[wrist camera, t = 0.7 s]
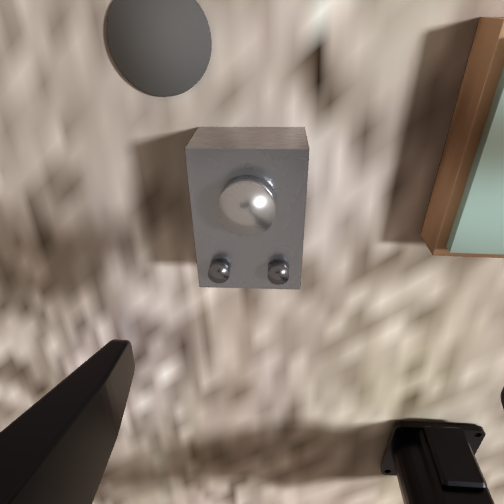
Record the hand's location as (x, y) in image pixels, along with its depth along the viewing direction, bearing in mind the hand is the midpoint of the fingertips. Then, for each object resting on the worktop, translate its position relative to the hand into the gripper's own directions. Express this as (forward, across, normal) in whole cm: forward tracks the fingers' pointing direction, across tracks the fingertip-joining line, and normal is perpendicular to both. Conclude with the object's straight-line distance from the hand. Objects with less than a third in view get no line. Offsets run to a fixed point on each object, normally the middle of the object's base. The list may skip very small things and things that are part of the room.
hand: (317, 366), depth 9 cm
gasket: (+13, +6, -6) cm, 15 cm away
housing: (+12, +2, +1) cm, 13 cm away
